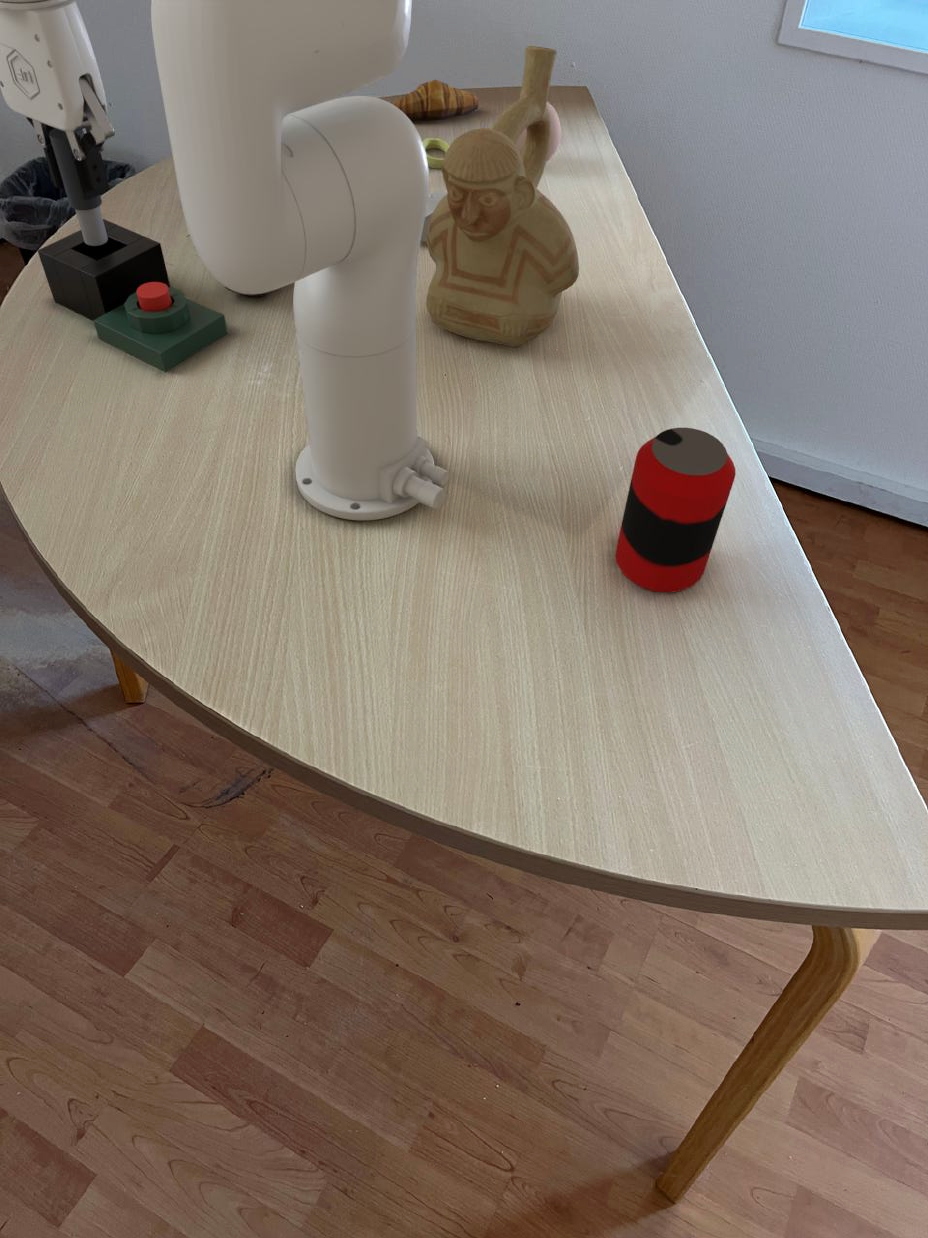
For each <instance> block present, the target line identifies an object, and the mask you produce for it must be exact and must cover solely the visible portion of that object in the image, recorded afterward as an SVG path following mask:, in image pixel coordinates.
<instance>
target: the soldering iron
mask: <svg viewBox="0 0 928 1238" xmlns="http://www.w3.org/2000/svg"><path fill="white" fill-rule="evenodd" d="M78 134H79V137H80V140H81V139H82V137H83V135H84V134H85V132H84V129H81V130H79V131H78ZM49 136H50V140H51V143H52V146H53V150H54V153H55V157H56V160H57V163H58V167H59V170H60V174H61V177H62V181H63V184H64V187H65V188H64V190H65V194H66V197H67V201H68V204H69V206H70V208H71V209H73V210H75V214H76V218H77V221H78V225H79V228H80V230H81V231H82V235H83V238H84V242H85V243H86V244H87V245H90V246H99V245H102V244H104V243H106V242H107V241H108V237H107V233H106V230H105V226H104V222H103V219H104V218H103V215H102V211H101V208H100V206H101V205H102V204H103V199H102V196H101V195H99V196H96V197H94V198H92V199H90V200H85V199H83V198H82V197H81V195H80V191H79V188H78V184H77V181H76V177H75V174H74V170H73V167H72V163H71V159H72V158H74V157H75V156H74V155H73V152H72V149H71V146H70V143H69V140H68V137H67V134H66V132H65V131H62V130H59V129H56V128H54V129H52V130H51V131H50V132H49Z"/></svg>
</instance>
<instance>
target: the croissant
mask: <svg viewBox="0 0 928 1238" xmlns="http://www.w3.org/2000/svg"><path fill="white" fill-rule="evenodd" d="M393 105H394V106H396V107H397V108H399V109H400V110H401V111H402V112H403V113H404V114H405V115H406V116H407V117H408V118H409V119H410V120H411V121H420V120H442V119H446V118H450V117H455V116H462V115H465V114H469V113H472V112H475V111H476V110H478V107H479V99H478V97H477V96H476V95H474V94H473V93H471V92H469V91H465V90H463V89H460V88H457V87H454V86H452V85H449V83H445V82H443V81H440V80H438V79H433V80H430V81H427V82H423V83H421V84H419V86H417V88H415V90H411V91H410V92H409V93H407V94H406V95H404V96H402V97H401V98H400V99H398V100H397V102H395V103H394V104H393Z"/></svg>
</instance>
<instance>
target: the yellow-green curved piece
mask: <svg viewBox="0 0 928 1238" xmlns="http://www.w3.org/2000/svg"><path fill="white" fill-rule="evenodd" d="M422 142H423V145H424V148H425V152H426V156H427V161H428V168H432V169H441V165H442V164H443V163H444V158H445V157H442V158H441V157H440V158H439V157H434V156H431V155H429V154H428V153H427V150H428V149H438V150H441V151H443V152H444V153H446V152H447V150H448V148H449V147H450V145H451V144H449V143H448V142H447V141H445V140H443V139H441V138H437V137H436V138H435V137H428V138H424V139H423V140H422Z"/></svg>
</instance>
